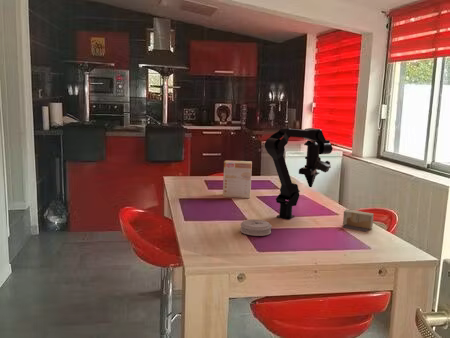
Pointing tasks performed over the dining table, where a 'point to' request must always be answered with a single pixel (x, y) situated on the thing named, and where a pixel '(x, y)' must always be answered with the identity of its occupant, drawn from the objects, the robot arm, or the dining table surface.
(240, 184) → the coffeecake box
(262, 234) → the lid
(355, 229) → the pad
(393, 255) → the dining table surface
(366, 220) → the skincare box
